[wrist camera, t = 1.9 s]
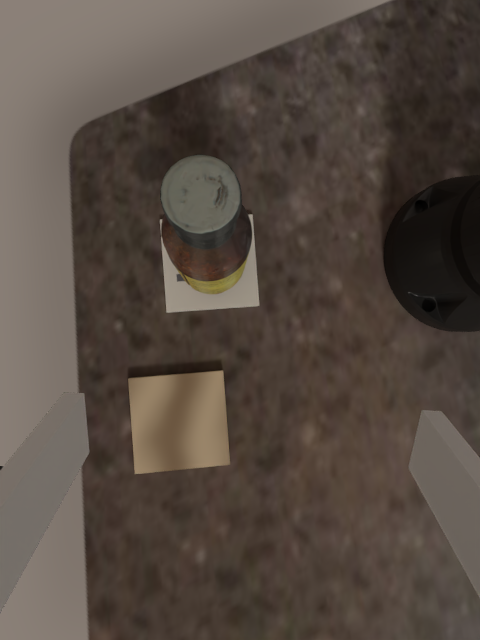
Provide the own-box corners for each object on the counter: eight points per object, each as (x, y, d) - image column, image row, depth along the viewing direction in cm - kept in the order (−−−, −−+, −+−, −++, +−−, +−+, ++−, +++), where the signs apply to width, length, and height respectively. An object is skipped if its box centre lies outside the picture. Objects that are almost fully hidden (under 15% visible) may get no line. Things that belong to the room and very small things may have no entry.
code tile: (252, 215, 40) (252, 214, 40) (258, 305, 40) (259, 305, 40) (160, 220, 40) (159, 219, 40) (166, 312, 40) (166, 312, 39)
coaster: (222, 370, 40) (223, 370, 39) (229, 462, 40) (230, 464, 39) (129, 377, 39) (128, 378, 39) (136, 471, 39) (135, 474, 39)
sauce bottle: (256, 260, 40) (301, 195, 20) (214, 309, 40) (219, 291, 20) (205, 216, 40) (200, 106, 20) (162, 265, 39) (115, 201, 20)
